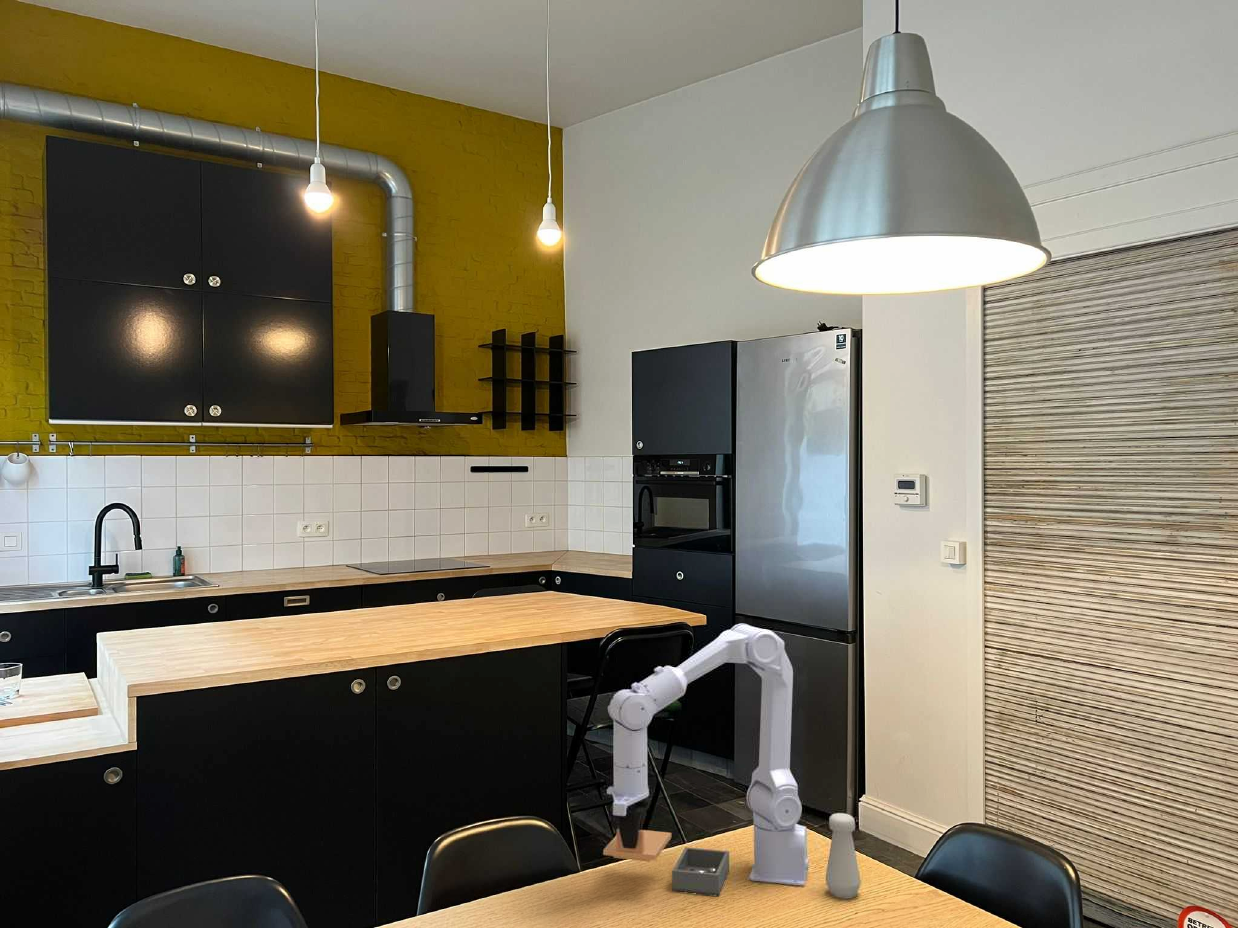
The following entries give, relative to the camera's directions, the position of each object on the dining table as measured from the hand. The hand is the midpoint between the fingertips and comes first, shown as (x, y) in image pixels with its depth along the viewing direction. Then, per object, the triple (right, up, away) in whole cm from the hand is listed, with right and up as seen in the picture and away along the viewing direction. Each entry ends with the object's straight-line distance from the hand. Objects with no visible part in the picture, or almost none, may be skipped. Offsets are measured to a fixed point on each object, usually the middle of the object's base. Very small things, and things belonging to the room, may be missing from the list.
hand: (631, 845), depth 155 cm
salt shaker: (+36, -9, +1) cm, 37 cm away
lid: (+1, -2, +5) cm, 5 cm away
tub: (+12, -9, +6) cm, 16 cm away
